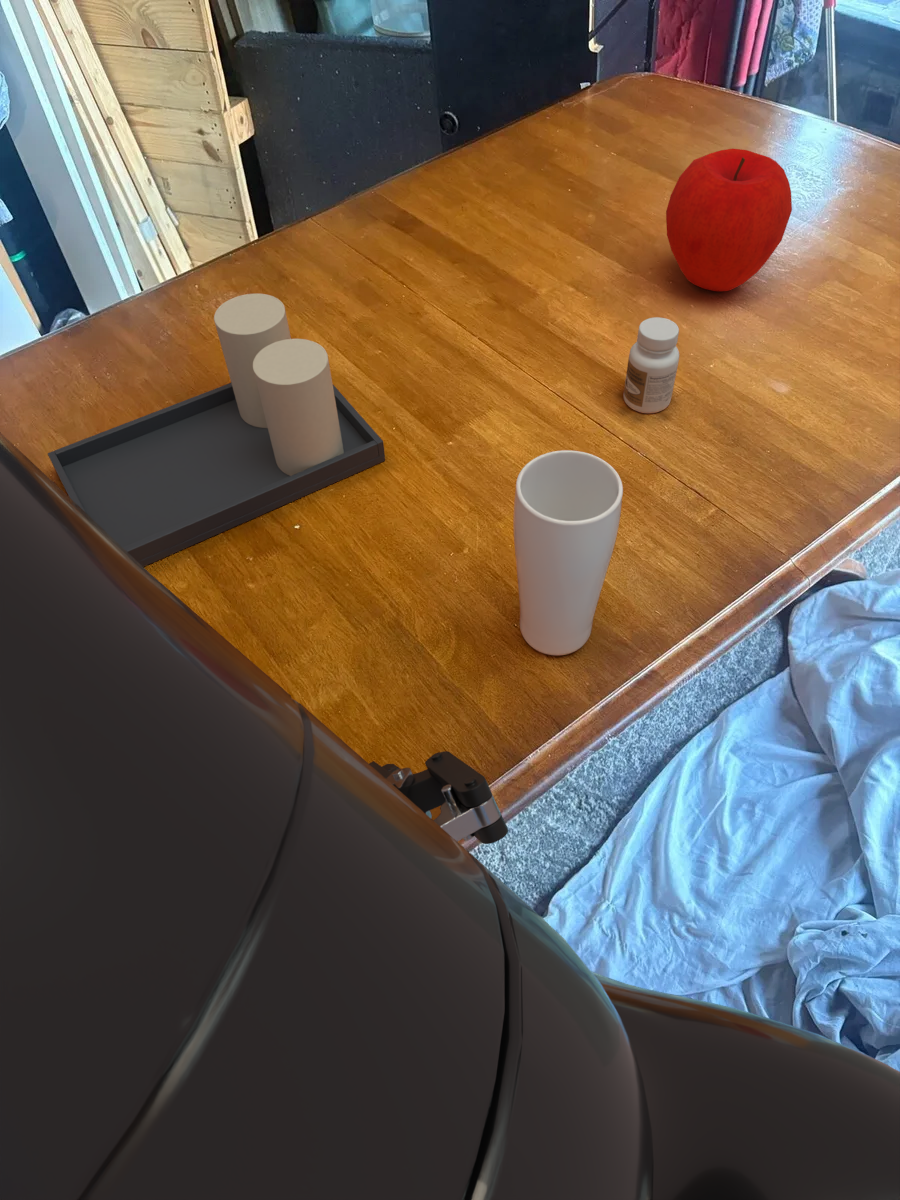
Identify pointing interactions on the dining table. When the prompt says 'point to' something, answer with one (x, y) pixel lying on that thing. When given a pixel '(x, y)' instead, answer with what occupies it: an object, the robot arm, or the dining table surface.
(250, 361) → the ivory candle
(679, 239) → the apple
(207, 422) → the tray
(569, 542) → the drinking glass
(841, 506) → the dining table surface
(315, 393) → the ivory candle
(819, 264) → the dining table surface
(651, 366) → the pill bottle
